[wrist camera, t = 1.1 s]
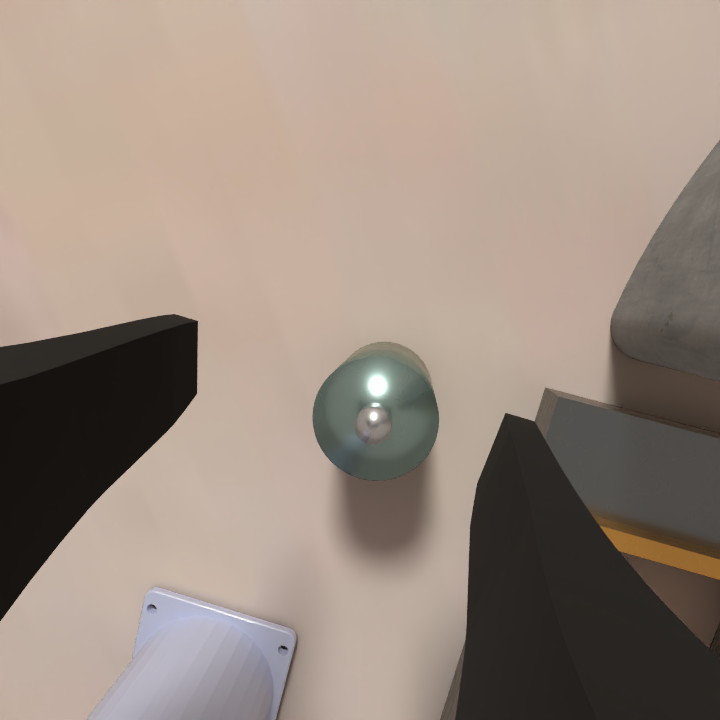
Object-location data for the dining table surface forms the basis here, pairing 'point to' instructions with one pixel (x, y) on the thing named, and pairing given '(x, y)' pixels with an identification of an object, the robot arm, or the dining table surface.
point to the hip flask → (678, 284)
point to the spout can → (377, 413)
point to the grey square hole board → (636, 485)
